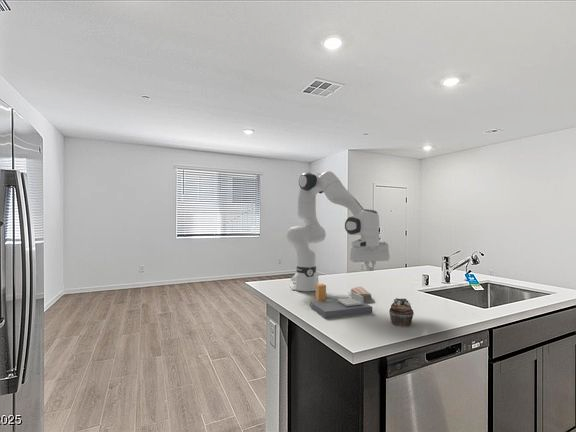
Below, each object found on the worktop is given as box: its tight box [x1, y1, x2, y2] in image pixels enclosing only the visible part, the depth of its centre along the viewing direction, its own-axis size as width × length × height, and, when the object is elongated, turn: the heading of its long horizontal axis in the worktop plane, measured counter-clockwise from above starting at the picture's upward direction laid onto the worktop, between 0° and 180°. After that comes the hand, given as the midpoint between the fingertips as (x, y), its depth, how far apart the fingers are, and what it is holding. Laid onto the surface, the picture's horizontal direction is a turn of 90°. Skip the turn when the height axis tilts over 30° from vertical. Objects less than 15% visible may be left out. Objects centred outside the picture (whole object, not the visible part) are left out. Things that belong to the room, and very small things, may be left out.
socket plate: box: [310, 299, 373, 319], centre depth 142 cm, size 16×24×3 cm, turn 108°
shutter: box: [336, 292, 365, 306], centre depth 144 cm, size 9×9×4 cm
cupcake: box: [388, 297, 415, 328], centre depth 125 cm, size 10×10×10 cm
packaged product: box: [347, 286, 376, 303], centre depth 165 cm, size 18×5×10 cm
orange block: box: [315, 283, 327, 301], centre depth 152 cm, size 4×4×10 cm
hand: (370, 270), depth 147 cm, fingers closed
